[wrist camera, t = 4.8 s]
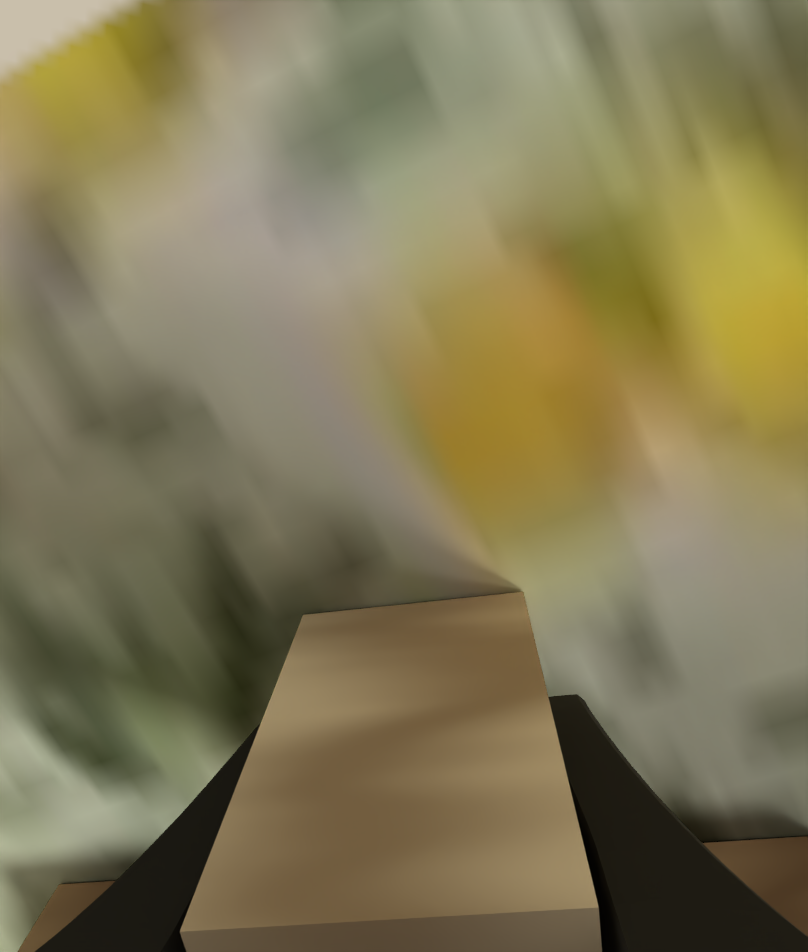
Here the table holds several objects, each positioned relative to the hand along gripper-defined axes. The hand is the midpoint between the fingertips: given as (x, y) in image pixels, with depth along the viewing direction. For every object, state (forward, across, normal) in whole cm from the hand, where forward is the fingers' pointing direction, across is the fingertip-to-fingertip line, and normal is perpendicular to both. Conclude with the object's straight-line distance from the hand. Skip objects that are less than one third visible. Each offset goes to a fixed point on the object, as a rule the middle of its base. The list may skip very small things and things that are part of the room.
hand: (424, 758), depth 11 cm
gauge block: (+2, 0, 0) cm, 2 cm away
